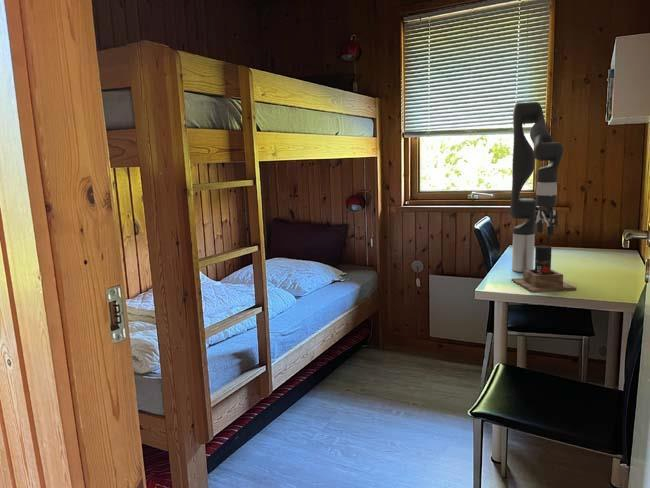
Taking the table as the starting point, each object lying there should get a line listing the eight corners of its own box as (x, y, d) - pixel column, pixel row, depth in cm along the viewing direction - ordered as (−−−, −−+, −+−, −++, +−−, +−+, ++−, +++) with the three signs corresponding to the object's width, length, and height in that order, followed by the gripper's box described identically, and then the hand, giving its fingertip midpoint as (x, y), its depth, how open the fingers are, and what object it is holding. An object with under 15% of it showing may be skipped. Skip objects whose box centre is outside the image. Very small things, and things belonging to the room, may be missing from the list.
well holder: (511, 281, 209) (511, 268, 208) (552, 279, 210) (553, 266, 209) (531, 292, 191) (531, 278, 190) (576, 290, 192) (576, 276, 191)
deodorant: (533, 283, 200) (534, 247, 197) (536, 280, 205) (537, 245, 202) (548, 285, 196) (550, 248, 194) (551, 281, 201) (552, 245, 199)
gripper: (528, 192, 201) (527, 231, 204) (546, 195, 187) (544, 237, 190) (546, 192, 201) (545, 231, 204) (565, 194, 187) (563, 236, 190)
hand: (544, 234), depth 197 cm, fingers open, 8 cm apart
